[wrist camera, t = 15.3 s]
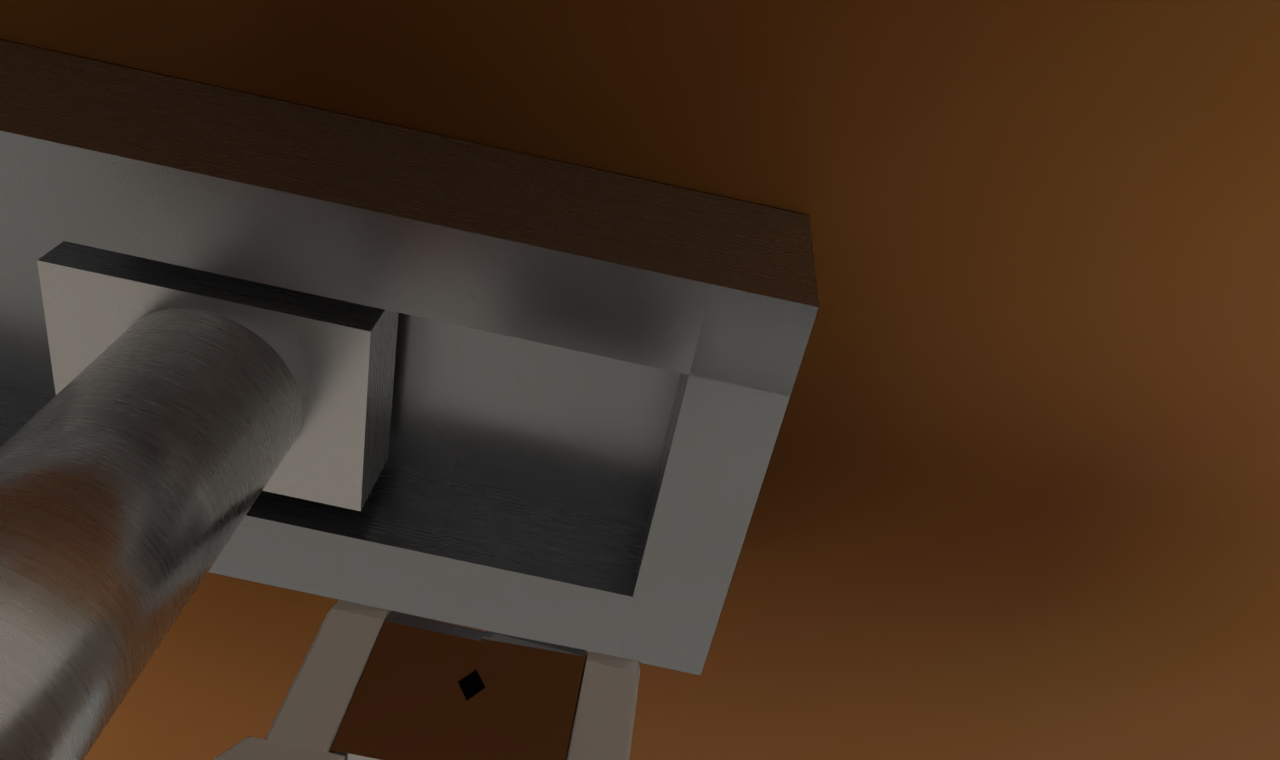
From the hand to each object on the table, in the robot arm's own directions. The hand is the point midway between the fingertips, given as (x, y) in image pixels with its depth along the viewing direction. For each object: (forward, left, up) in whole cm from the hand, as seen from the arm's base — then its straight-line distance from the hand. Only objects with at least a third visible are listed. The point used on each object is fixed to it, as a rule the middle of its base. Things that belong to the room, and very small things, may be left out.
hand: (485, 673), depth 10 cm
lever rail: (0, -5, -6) cm, 8 cm away
